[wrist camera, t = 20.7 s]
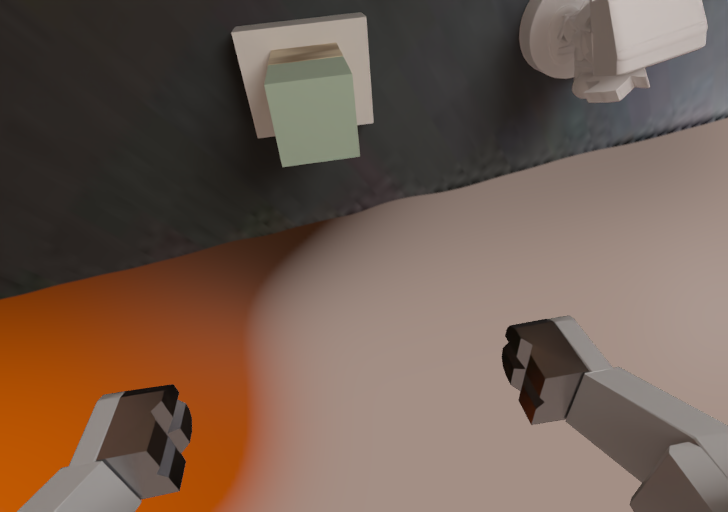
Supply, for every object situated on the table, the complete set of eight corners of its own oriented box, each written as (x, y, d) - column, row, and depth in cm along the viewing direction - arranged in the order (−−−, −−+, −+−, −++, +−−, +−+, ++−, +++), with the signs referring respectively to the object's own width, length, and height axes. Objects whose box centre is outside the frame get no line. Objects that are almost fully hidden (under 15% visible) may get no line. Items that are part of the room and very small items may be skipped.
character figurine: (520, 86, 38) (597, 131, 28) (516, -32, 32) (610, -27, 23) (612, 55, 38) (722, 89, 28) (624, -71, 32) (767, -82, 22)
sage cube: (343, 56, 27) (352, 73, 23) (350, 129, 30) (360, 156, 26) (268, 65, 27) (264, 84, 23) (283, 138, 30) (282, 167, 26)
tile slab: (360, 12, 32) (366, 16, 30) (368, 112, 37) (373, 122, 35) (235, 26, 32) (231, 32, 29) (259, 126, 37) (257, 138, 34)
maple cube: (336, 42, 31) (343, 55, 27) (343, 108, 34) (350, 129, 30) (270, 50, 30) (267, 64, 27) (284, 116, 34) (283, 138, 30)
